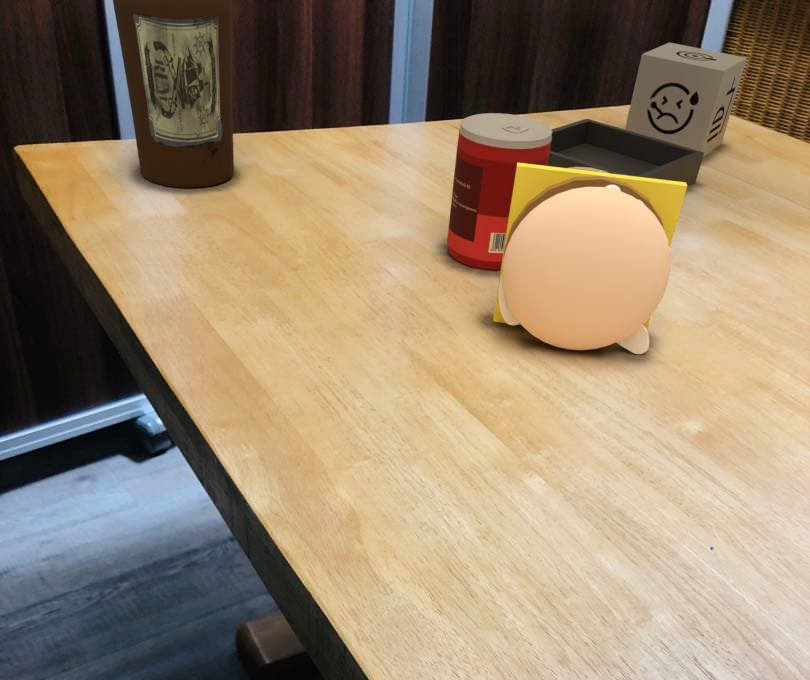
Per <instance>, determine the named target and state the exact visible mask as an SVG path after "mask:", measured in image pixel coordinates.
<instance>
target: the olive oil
mask: <svg viewBox="0 0 810 680" xmlns="http://www.w3.org/2000/svg"><path fill="white" fill-rule="evenodd" d="M112 3H113V10H114V16H115V22H116V29H117V34H118V39H119V46H120V51H121V56H122V61H123V68H124V72H125V73H124V74H125V80H126V86H127V92H128V98H129V104H130V110H131V117H132V123H133V129H134V137H135V143H136V150H137V155H138V157H137V158H138V163H139V170H140V172H141V175H142V176H143V177H145V179H147V180H148V181H150V182H153V183H155V184H158V185H161V186H167V187H172V188H184V189H186V188H187V189H188V188H189V189H190V188H191V189H193V188H205V187H212V186H217V185H219V184H223V183H225V182H227V181H229V180H230V179H231V178H232V177H233V175H234V174H235V173H234V172H235V161H234V158H235V157H234V155H235V154H234V123H233V121H234V119H233V118H234V117H233V113H234V111H233V3H232V0H112Z"/></svg>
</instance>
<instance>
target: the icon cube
mask: <svg viewBox="0 0 810 680" xmlns="http://www.w3.org/2000/svg"><path fill="white" fill-rule="evenodd" d="M747 60H748V57H745V56H740V55H735V54H731V53H730V54H729V53H725V52H720V51H714V50H710V49H703V48H700V47H694V46H690V45H689V46H688V45H685V44H679V43H674V42H667V43H664V44H663V45H660V46H658V47H656V48H653V49H651V50H647V51H646V52H644V53H642V54H641V57H640V61H639V65H638V70H637V75H636V79H635V82H634V88H633V92H632V97H631V101H630V105H629V110H628V115H627V118H626V123H625V126H624V129H625V130H628V131H632V132H635V133H638V134H642V135H645V136H649V137H652V138H656V139H659V140H662V141H666V142H669V143H673V144H676V145H680V146H683V147H687V148H690V149H693V150H697V151H701V152H704V155H703V158H704V157H707V155H708V154H710V153H711V152H713V151H714V150H715V149H716V148H718V147H719V146H721V145H722V143H723V140H724V136H725V133H726V131H727V127H728V123H729V119H730V117H731V113H732V109H733V107H734V103H735V100H736V96H737V94H738V89H739V86H740V83H741V79H742V76H743V73H744V70H745V67H746V63H747Z"/></svg>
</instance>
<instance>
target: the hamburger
mask: <svg viewBox="0 0 810 680" xmlns="http://www.w3.org/2000/svg"><path fill="white" fill-rule="evenodd" d="M687 189H688V186H687V184H686V182H678V181H669V180H661V179H653V178H644V177H636V176H627V175H619V174H610V173H608V172H606V171H602V170H598V169H594V168H587V167H572V168H560V167H551V166H543V165H534V164H526V163H517V168H516V175H515V181H514V188H513V194H512V201H511V206H510V213H509V219H508V225H507V232H506V239H505V245H504V252H503V259H502V265H501V270H500V271H499V279H498V286H497V293H496V298H495V305H494V312H493V318H492V319H493V320H492V322H494V323H502V324H507V325H509V326H517V325H518V326H522V328H523V329H525V330H526V331H527V332H528V333H529V334H530V335H532V336H533V337H535V338H536V339H538V340H540V341H542V342H543V343H545V344H548V345H550V346H553V347H555V348H560V349H565V350H569V351H571V350H573V351H587V350H588V351H589V350H597V349H601V348H604V347H607V346H610V345H614V344H617V345H619V346H620V347H622V348H624V349H626V350H628V351H629V352H630V353H633V354H635V355H642V354H644V353H646V352H647V351H648V350H649V347H650V336H649V335H650V334H649V331H648V326H649V323H650V320H651V316H652V315H653V314H654V313H655V312H656V310H657V308H658V307H659V305H660V303H661V301H663V297H664V295H665V293H666V290H667V287H668V284H669V281H670V274H671V269H672V268H671V267H672V265H671V261H672V260H671V259H672V258H671V245H672V243H673V242H672V241H673V239H674V234H675V231H676V228H677V224H678V220H679V217H680V214H681V210H682V206H683V203H684V200H685V195H686V192H687Z"/></svg>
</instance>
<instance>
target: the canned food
mask: <svg viewBox="0 0 810 680" xmlns="http://www.w3.org/2000/svg"><path fill="white" fill-rule="evenodd" d="M459 126H460V127H459V128H458V129H459V130H458V139H457V144H456V145H457V146H456V155H455V164H454V172H453V173H454V174H453V183H452V193H451V202H450V209H449V221H448V231H447V239H446V240H447V248H448V252H449V254H450V255H451V257H452V258H453V259H454V260H456V261H457V262H459V263H461V264H463V265H466V266H469V267H472V268H476V269H481V270H490V271H501V265H502V259H503V252H504V245H505V239H506V232H507V225H508V219H509V213H510V206H511V201H512V194H513V188H514V181H515V175H516V168H517V163H526V164H534V165H543V166H547V164H548V159H549V153H550V146H551V141H552V130H551V129H552V128H551V126H549V125H547V124H546V123H544V122H543V121H540V120H537V119H534V118H531V117H529V116H523V115H518V114H510V113H501V112H500V113H499V112H497V113H496V112H488V113H477V114H473V115H470V116H467V117H464V118H463V119H462V120H461V121H460V125H459Z"/></svg>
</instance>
